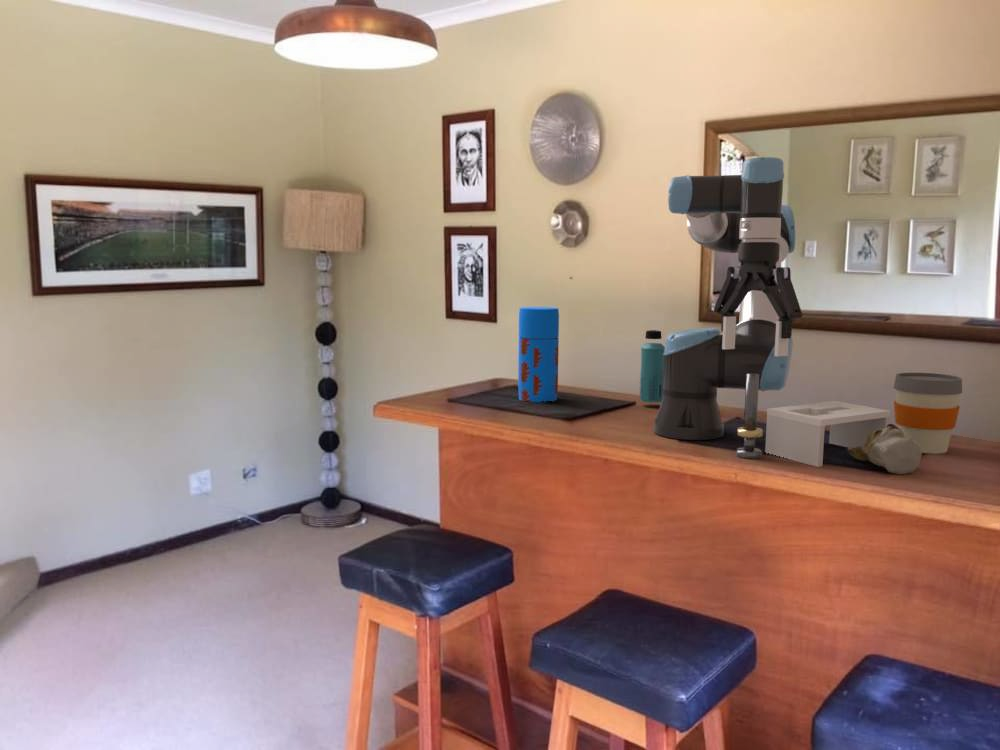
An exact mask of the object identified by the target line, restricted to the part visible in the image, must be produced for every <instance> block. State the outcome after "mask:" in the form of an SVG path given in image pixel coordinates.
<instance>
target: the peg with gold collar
mask: <svg viewBox="0 0 1000 750" xmlns="http://www.w3.org/2000/svg"><path fill="white" fill-rule="evenodd" d="M759 391H760V390H759V374H757V373H746V389H745V395H744V397H745V398H744V415H743V416H744V417H743V420H744V421H743V426H740V427H737V430H736V431H737V432H736V433H737V436H739V437H740V438H741V437H742V438H743V439H744V441H743V447H738V448H736V452H735V456H736V457H737V458H740V459H747V460H757V459H758V460H759V459H762V455H763V451H762V450H763V449H760V448H756V447H755V444H756V439H757V438H762V437H764V436H763V434H764V430H763V428H760V427H758V425H757V424H758V407H759V404H758V403H759Z"/></svg>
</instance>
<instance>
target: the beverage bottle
mask: <svg viewBox="0 0 1000 750" xmlns="http://www.w3.org/2000/svg"><path fill="white" fill-rule="evenodd" d="M644 337H645V339H647V340H662V331H660V330H656V329H655V330H653V329H652V330H651V329H649V330H646V331H645V336H644ZM640 351H641V352H640V354H641V355H640V382H639V399H640V401H641V402H643V403H655V404H656V403H661V402H662V399H663V384H664V351H665V345H664V344H662V343H661V342H660V343H659V342H645V343H644V344H643V345H642V346H641V348H640Z"/></svg>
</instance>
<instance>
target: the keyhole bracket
mask: <svg viewBox="0 0 1000 750" xmlns="http://www.w3.org/2000/svg"><path fill="white" fill-rule="evenodd" d="M888 424H891V410H889V409H883V408H877V407H871V406H867V405H866V406H865V405H862V404H861V405H860V404H855V403H849V402H844V401H837V400H831V401H823V402H822V401H820V402H815V403H814V402H813V403H805V404H803V403H802V404H798V405H788V406H786V405H785V406H781V407H780V406H779V407H771V408H770V407H769V408H767V409H766V432H765V446H764V447H765V449H764V453H765V452H766V453H765V454H768V453H769V455H772V454H773V455H772V456H775V455H776V456H775V457H779V456H780V458H783V457H784V458H783V459H786V458H787V460H790V461H794V462H799V463H801V464H806V465H809V466H813V467H817V468H820V467H823V464H824V463H823V461H824V460H823V459H824V446H825V445H824V444H825V430H826V426H829V435H828V436H829V437H828V438H829V439H828V444H831V445H836V446H840V447H844V448H845V447H851V448H855V447H858V446H862V447H864V444H865V443H866V441H867V438H868V436H869V435H870V434H871V432H873V431H874V430H876V429H885V428H886V427H887V425H888Z"/></svg>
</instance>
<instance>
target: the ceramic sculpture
mask: <svg viewBox="0 0 1000 750" xmlns="http://www.w3.org/2000/svg"><path fill="white" fill-rule="evenodd" d="M844 449H845V451H846V452H847V453H848V454H849V455H850V456H851V457H853V459H856V460H859V461H870V462H871V463H873V465H876V466H877V465H878V467H880V466H882V467H881V468H884V467H885V468H884V469H886V471H888V473H891V474H896V475H906V474H912V473H913V472H914V471H915V470H916V469H917V468H918V467H919V465H920V462H921V458H922V455H923V453H921V451H920V448H919V446H918V444H917V443H916V441H914V440H913V439H912V438H906V437H905V436H904V433H903V431H902V430H901V429H900V428H898V426H896V425H895V424H893V423H890V424H888V425H887V427H886V428H885V429H876V430H874V431H873V432H871V434H870V435H869V436H868V438H867V441H866V443H865V444H864V447H862V446H858V447H855V448H851V447H844Z"/></svg>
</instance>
